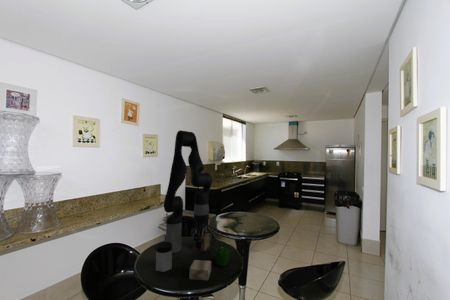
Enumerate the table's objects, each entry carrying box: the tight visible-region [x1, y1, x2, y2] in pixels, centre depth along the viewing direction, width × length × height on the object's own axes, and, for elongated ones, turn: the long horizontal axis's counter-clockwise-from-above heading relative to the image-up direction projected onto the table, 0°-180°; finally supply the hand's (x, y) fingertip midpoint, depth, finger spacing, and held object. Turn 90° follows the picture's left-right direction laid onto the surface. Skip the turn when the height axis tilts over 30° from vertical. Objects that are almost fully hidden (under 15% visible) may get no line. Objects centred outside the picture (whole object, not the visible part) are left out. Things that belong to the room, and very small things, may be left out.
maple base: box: [189, 259, 212, 281], centre depth 107 cm, size 9×9×5 cm
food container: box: [192, 231, 212, 251], centre depth 138 cm, size 12×6×10 cm, turn 84°
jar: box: [155, 241, 173, 273], centre depth 113 cm, size 9×8×12 cm
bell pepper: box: [214, 246, 231, 267], centre depth 117 cm, size 8×8×10 cm
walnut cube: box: [192, 234, 210, 252], centre depth 107 cm, size 6×6×6 cm
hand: (201, 246), depth 107 cm, fingers closed on walnut cube, 6 cm apart
